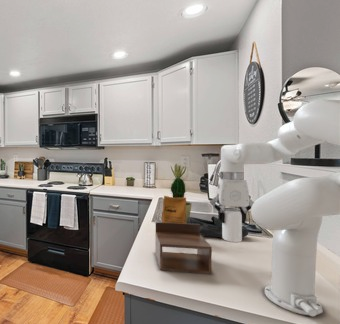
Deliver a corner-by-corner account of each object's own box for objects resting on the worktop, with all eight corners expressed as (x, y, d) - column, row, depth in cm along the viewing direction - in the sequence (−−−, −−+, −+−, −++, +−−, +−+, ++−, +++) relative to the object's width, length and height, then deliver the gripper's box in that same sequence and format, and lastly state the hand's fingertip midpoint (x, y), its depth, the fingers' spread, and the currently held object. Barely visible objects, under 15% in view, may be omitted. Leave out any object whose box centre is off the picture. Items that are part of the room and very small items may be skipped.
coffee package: (163, 233, 121) (163, 193, 120) (188, 238, 114) (188, 196, 113) (158, 239, 113) (158, 196, 112) (184, 245, 106) (184, 199, 105)
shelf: (211, 274, 81) (211, 236, 80) (160, 270, 84) (160, 233, 83) (199, 256, 95) (199, 223, 94) (155, 253, 98) (155, 222, 97)
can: (224, 241, 85) (224, 210, 85) (220, 236, 91) (220, 207, 91) (244, 243, 83) (244, 211, 83) (238, 237, 89) (238, 208, 89)
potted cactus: (163, 222, 141) (164, 175, 140) (190, 224, 136) (191, 175, 135) (162, 230, 127) (163, 177, 126) (192, 233, 122) (193, 178, 120)
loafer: (252, 241, 110) (252, 221, 109) (190, 238, 114) (190, 218, 114) (241, 233, 120) (241, 215, 120) (184, 231, 125) (185, 213, 124)
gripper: (211, 177, 84) (211, 224, 85) (262, 177, 81) (262, 226, 82) (204, 175, 92) (204, 218, 92) (251, 175, 89) (251, 220, 89)
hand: (231, 221), depth 87 cm, fingers closed on can, 6 cm apart
